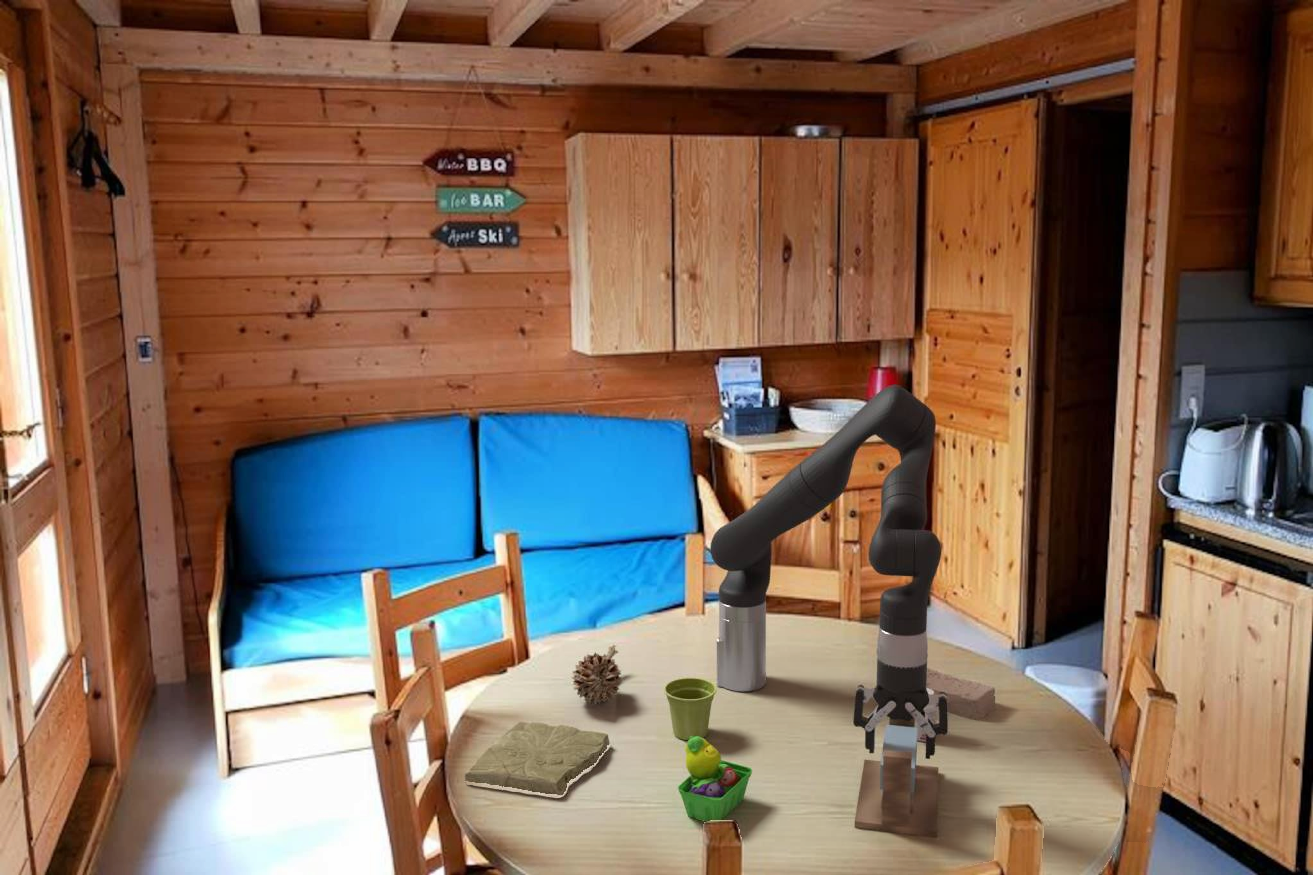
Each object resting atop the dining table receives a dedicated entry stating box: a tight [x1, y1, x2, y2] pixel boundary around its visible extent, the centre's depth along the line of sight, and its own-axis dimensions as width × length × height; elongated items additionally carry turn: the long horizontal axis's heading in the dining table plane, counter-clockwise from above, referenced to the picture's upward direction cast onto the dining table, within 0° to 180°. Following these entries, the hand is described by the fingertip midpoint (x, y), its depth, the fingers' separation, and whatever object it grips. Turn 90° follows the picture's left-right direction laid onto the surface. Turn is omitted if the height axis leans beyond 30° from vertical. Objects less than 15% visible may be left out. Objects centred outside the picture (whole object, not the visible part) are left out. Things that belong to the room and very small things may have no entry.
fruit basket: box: [677, 736, 753, 822], centre depth 170 cm, size 11×9×11 cm
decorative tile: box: [464, 721, 611, 795], centre depth 185 cm, size 19×20×4 cm
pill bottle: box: [915, 688, 937, 743], centre depth 192 cm, size 5×5×8 cm
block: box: [880, 724, 918, 793], centre depth 171 cm, size 5×14×4 cm, turn 165°
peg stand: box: [854, 717, 939, 838], centre depth 171 cm, size 12×20×12 cm, turn 165°
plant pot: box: [663, 677, 718, 741], centre depth 195 cm, size 9×9×9 cm
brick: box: [926, 667, 996, 721], centre depth 207 cm, size 17×8×5 cm, turn 51°
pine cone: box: [571, 644, 622, 706], centre depth 213 cm, size 22×10×10 cm, turn 175°
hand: (899, 753), depth 171 cm, fingers open, 8 cm apart
